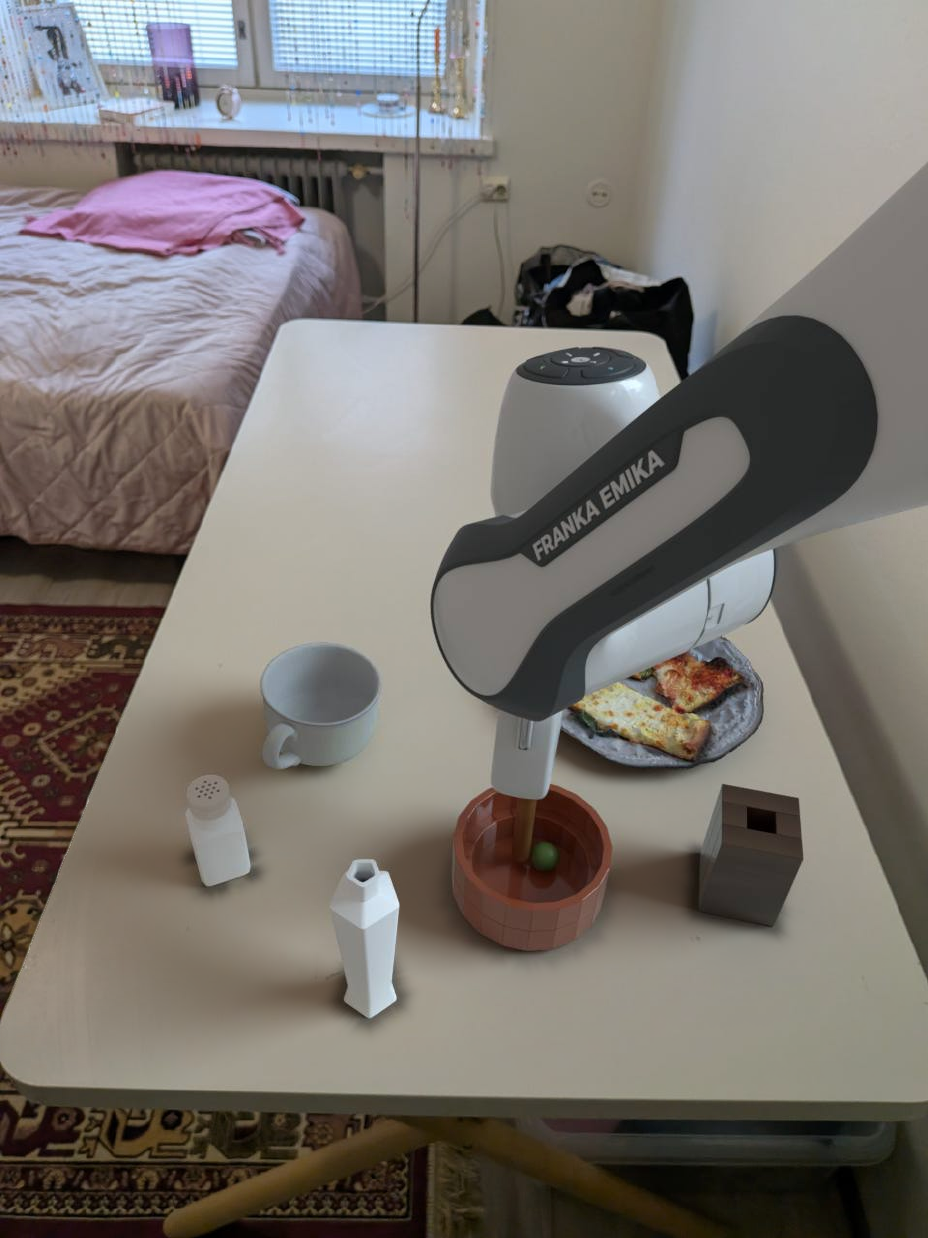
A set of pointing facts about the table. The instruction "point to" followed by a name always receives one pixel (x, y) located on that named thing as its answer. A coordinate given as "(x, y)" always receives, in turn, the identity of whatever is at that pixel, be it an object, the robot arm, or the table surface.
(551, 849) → the bead
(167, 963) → the table surface
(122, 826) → the table surface
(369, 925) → the white faceted bottle
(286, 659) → the teacup
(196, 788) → the salt shaker
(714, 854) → the utensil block
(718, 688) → the food plate
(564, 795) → the bowl
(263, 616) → the table surface
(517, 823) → the stirring stick
